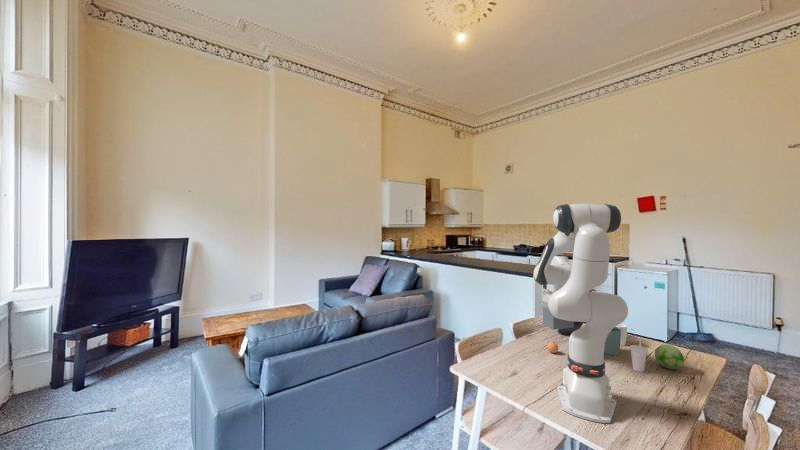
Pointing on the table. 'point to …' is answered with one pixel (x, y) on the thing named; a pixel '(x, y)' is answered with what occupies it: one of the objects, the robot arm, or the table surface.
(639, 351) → the smoothie
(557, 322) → the gray rectangular block
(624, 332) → the white cup
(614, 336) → the drinking glass
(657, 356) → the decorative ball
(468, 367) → the table surface
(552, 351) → the ball
